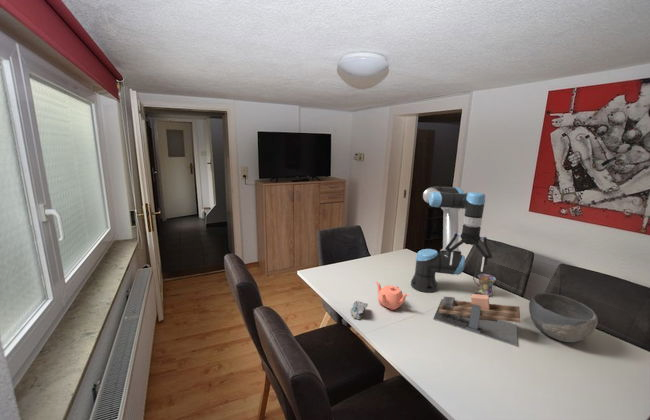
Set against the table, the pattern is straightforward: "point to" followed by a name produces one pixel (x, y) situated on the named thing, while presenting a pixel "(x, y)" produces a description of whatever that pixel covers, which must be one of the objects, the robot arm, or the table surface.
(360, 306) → the mineral specimen
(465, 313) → the beam
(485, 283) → the mug
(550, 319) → the bowl
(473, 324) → the stand
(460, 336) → the table surface
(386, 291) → the teapot
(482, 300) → the block
